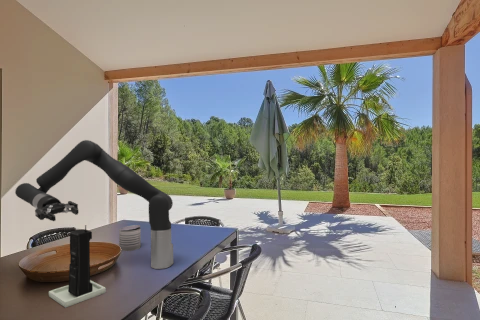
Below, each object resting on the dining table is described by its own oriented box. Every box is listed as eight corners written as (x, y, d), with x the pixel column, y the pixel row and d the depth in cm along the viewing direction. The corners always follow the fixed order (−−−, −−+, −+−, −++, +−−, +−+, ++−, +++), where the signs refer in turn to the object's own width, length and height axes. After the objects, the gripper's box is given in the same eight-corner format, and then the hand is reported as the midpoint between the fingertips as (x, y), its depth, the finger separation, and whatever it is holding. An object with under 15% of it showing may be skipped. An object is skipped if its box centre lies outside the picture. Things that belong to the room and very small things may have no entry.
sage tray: (87, 283, 120) (87, 278, 120) (105, 292, 111) (105, 287, 111) (48, 296, 109) (48, 291, 109) (65, 307, 100) (65, 302, 100)
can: (133, 251, 160) (133, 229, 160) (114, 250, 162) (114, 228, 162) (144, 245, 171) (144, 224, 171) (126, 244, 173) (126, 224, 173)
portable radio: (66, 292, 110) (65, 225, 110) (82, 286, 115) (82, 222, 115) (76, 298, 105) (75, 227, 105) (93, 292, 110) (92, 224, 110)
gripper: (26, 199, 119) (45, 211, 110) (63, 191, 130) (83, 201, 122) (27, 217, 121) (47, 230, 112) (64, 207, 132) (84, 218, 123)
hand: (66, 215), depth 117 cm, fingers open, 8 cm apart
